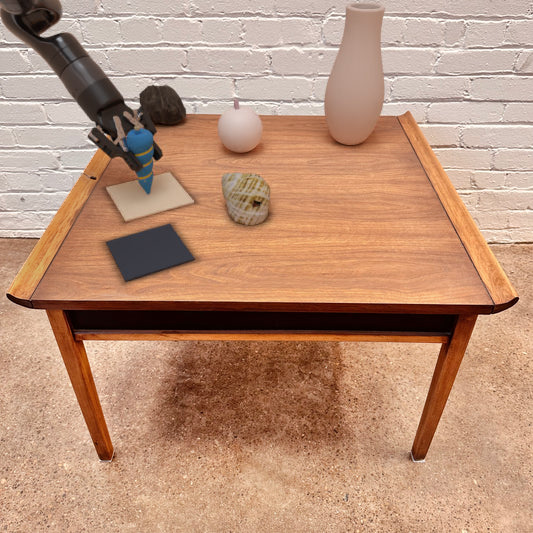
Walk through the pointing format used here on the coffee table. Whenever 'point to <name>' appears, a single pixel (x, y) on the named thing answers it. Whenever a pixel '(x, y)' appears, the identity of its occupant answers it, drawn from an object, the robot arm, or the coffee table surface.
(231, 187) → the seashell
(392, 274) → the coffee table surface
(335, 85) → the vase
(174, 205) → the cream mat
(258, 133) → the ornament
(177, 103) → the rock
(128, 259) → the slate mat
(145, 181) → the ornament
